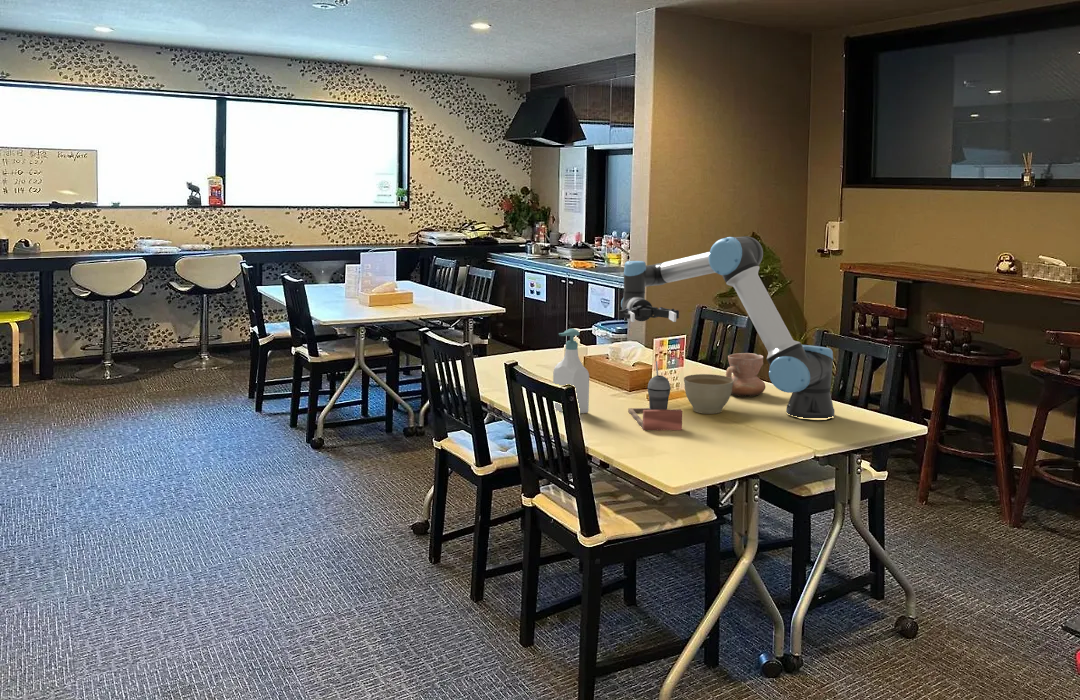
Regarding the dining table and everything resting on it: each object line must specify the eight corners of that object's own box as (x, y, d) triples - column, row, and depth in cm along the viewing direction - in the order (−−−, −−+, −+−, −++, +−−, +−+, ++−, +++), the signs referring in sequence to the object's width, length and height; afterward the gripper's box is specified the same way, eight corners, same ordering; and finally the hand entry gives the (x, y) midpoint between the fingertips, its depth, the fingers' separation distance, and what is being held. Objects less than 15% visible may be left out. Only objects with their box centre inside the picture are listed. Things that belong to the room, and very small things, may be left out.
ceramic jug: (745, 387, 338) (746, 350, 336) (776, 394, 327) (777, 355, 324) (710, 394, 328) (711, 355, 326) (740, 402, 317) (742, 361, 314)
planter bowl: (679, 404, 311) (681, 373, 309) (727, 405, 310) (729, 374, 308) (685, 416, 295) (687, 383, 293) (735, 417, 294) (737, 384, 293)
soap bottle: (548, 409, 302) (549, 327, 297) (568, 406, 306) (569, 325, 302) (568, 416, 293) (569, 332, 288) (588, 413, 298) (590, 330, 293)
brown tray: (628, 411, 300) (628, 394, 299) (663, 411, 301) (664, 393, 300) (643, 430, 277) (644, 411, 276) (681, 430, 278) (682, 410, 277)
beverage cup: (663, 428, 280) (665, 364, 276) (642, 425, 283) (644, 362, 280) (673, 423, 286) (675, 361, 282) (652, 420, 290) (654, 358, 286)
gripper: (675, 319, 315) (691, 329, 294) (603, 320, 312) (615, 329, 291) (675, 298, 313) (692, 305, 292) (604, 298, 310) (616, 306, 290)
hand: (654, 317), depth 292 cm, fingers open, 13 cm apart
